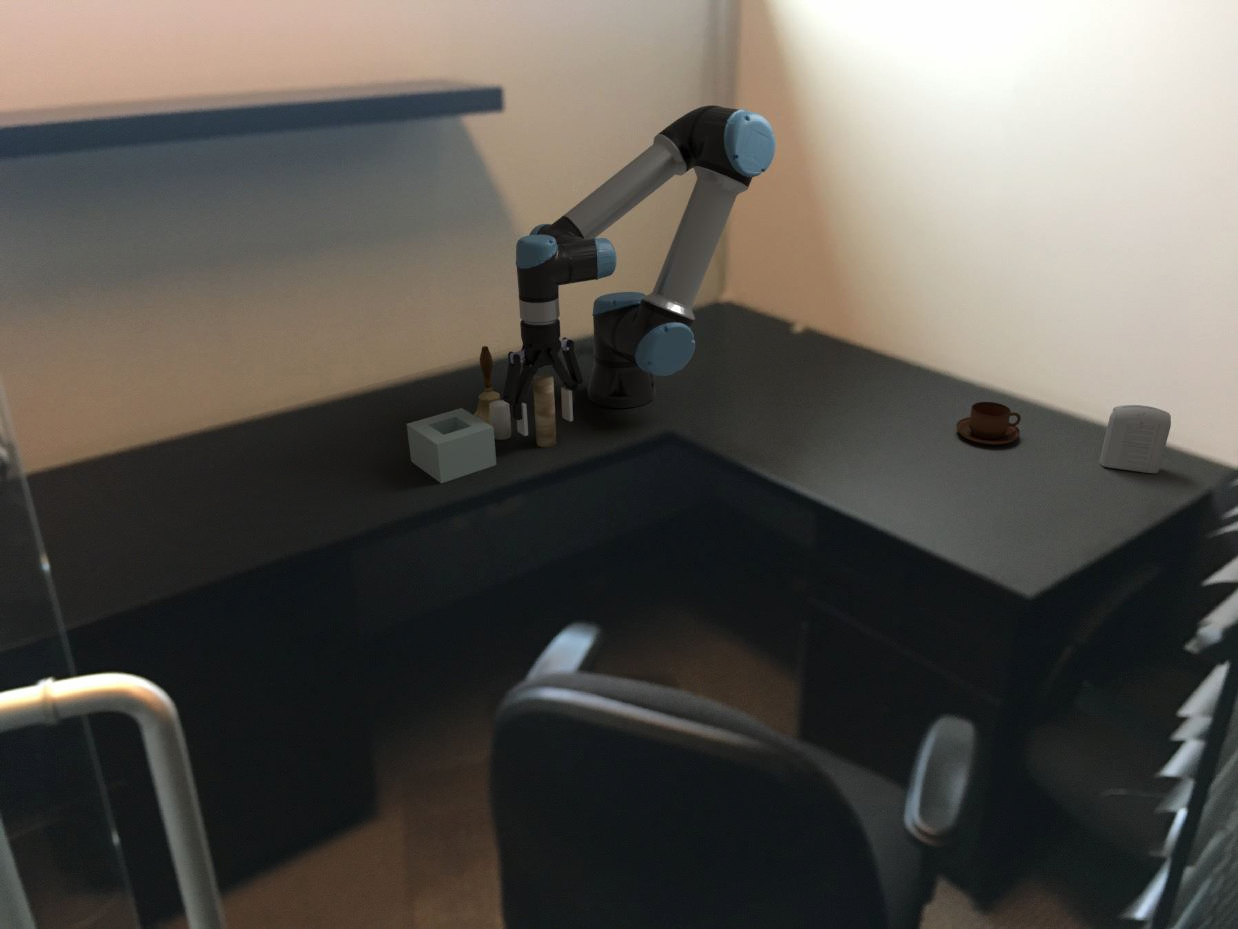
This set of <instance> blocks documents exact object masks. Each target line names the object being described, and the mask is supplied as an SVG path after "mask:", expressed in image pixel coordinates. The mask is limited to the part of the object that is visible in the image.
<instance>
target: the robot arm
mask: <svg viewBox="0 0 1238 929" xmlns="http://www.w3.org/2000/svg"><path fill="white" fill-rule="evenodd" d="M652 143H653V144H652V145H650V146H649V147H648V148H647V149H645V150H644V151H643V152H641V154H639V155H638V156H637V157H635V158H633V160H631V161H630V162H628V164H626V165H625V166H624V167H622V168H621V169H620V170H619V171H617V172H616V173H614V175H612V176H611V177H610V178H608V180H606V181H605V182H603V183H602V184H601V185H600V186H599V187H597V188H596V189H595V190H594V191H593V192H591V193H590V194H588V195H587V196H586V197H585V198H584V199H582V200H580V201H579V202H578V203H577V204H576V205H574V207H572V208H570V209H569V210H568V211H567V212H566V213H564V214H563V215H562V216H561V217H560V218H558V219H557V220H556V221H554V222H553V223H542V224H538V225H535V227H534V228H532V229H531V231H530V232H529V235H525V236H523V237H520V238H519V239H518V241H517V242H516V247H515V249H516V250H515V266H516V275H517V289H518V302H519V303H518V306H519V318H520V338H521V342H522V346H521V349H520V350H518V351H515V352H514V351H509V352H508V354H507V356H508V357H507V358H508V367H507V372H506V378H505V383H504V389H503V394H502V400H503V401H505V402H507V403H508V404H509V406H510V405H511V406H512V407H511V408H512V417H513V419H515V420H516V428H517V429H516V430H517V431H516V432H517V433H520V435H522V436H524V437H527V436H529V425H528V410H527V403H525V402H524V401H525V398H526V396H527V393H528V390H529V388H530V385H531V383H532V382H533V377H535V374H537V372H538V370H539V369H540V368H543V367H546V366H549V367H550V366H551V367H552V368H553V370H554V372H555V373H556V375H557V376H558V378H559V379H560V381H561V382H562V384H563V385H564V386H563V387H562V386H561V387H560V394H561V395H560V396H561V416H562V418H563V419H564V420H566V421H568V422H573V421H574V413H573V404H575V403H576V391H578V389H579V385H582V384H583V383H584V379H583V376H582V372H581V369H580V367H579V363H578V360H577V356H576V354H575V341H574V340H573V339H570V338H568V337H566V336H565V337H564V336H563V337H562V339H560V338H561V321H560V319H559V318H560V315H561V313H560V312H561V311H560V297H559V296H560V293H559V292H560V291H559V288H560V286H564V285H565V286H566V285H571V284H577V283H582V282H588V281H597V280H599V279H604V278H607V277H611V276H612V275H613V274H614V273H615V271H616V268H617V251H616V249H615V247H614V245H613V243H612V242H611V240H610V239H608V238H606V237H599V236H601V234H602V233H603V232H605V231H606V230H608V229H609V228H610V227H612V225H614V224H615V223H616V222H617V221H619V220H620V219H621V218H623V217H624V216H625V215H627V214H628V213H629V212H630V211H631V210H633V209H635V207H637V206H638V205H639V204H640V203H641V202H643V201H644V200H646V198H648V197H649V196H650V195H651V194H653V193H654V192H656V191H657V190H658V189H659V188H661V187H662V186H663V185H664V184H666V183H667V182H668V181H669V180H670V179H672V178H673V177H674V176H675V175H676V176H684V175H685V174H687V172H689V171H690V170H691V169H693V170H694V174H696V182H695V184H694V186H693V189H692V192H691V193H690V196H689V199H688V201H687V204H686V206H685V209H684V212H683V214H682V216H681V219H680V222H679V224H678V227H677V228H676V232H675V234H674V237H673V240H672V242H671V244H670V246H669V249H668V252H667V255H666V257H665V260H664V261H663V262H664V263H663V265H662V267H661V270H660V272H659V274H658V277H657V280H656V282H655V285H654V287H653V289H652V291H651V293H649V294H645V293H643V292H640V291H621V292H620V291H619V292H618V291H617V292H612V293H607V294H603V295H599V296H598V297H597V298H595V300H594V302H593V307H592V314H591V315H592V322H593V347H594V348H593V350H594V352H593V354H594V363H593V368H592V371H591V375H590V379H589V382H588V385H587V398H588V399H589V401H590V402H592V403H593V404H595V405H598V406H601V407H606V408H611V409H612V408H613V409H627V408H629V409H630V408H637V407H640V406H644V405H646V404H649V403H651V402H652V401H653V400H654V399H656V398H655V397H656V393H657V391H656V390H657V388H656V383H655V380H654V377H653V375H654V376H658V377H667V376H668V377H669V376H670V375H671V376H672V375H674V374H675V373H677V372H679V371H681V370H682V369H684V367H686V365H687V364H688V363H689V362H690V361H691V359H692V357H693V355H694V352H695V349H696V341H695V339H694V338H695V335H694V333H693V331H692V328H693V325H694V322H695V320H696V317H695V315H694V312H693V309H692V308H693V306H694V303H695V300H696V298H697V296H698V293H699V290H700V288H701V285H702V283H703V281H704V278H705V276H706V273H707V270H708V268H709V266H710V263H711V261H712V258H713V256H714V254H715V252H716V250H717V249H716V248H717V246H718V243H719V240H720V239H721V237H722V233H723V231H724V228H725V226H726V223H727V221H728V218H729V216H730V214H731V211H732V209H733V206H734V204H735V201H736V199H737V196H738V195H739V194H742V193H744V192H746V191H748V189H749V187H750V184H751V183H752V181H753V178H755V177H758V176H760V175H762V173H765V172H766V171H767V170H768V168H769V167H770V165H771V164H772V162H773V160H774V157H775V154H776V153H775V152H776V136H775V135H774V132H773V127H772V125H771V123H769V121H768V120H767V119H766V118H765V117H764V116H763V115H761V114H759V113H756V112H753V111H750V110H747V109H737V108H729V107H725V106H724V107H723V106H719V105H713V104H712V105H705V106H700V107H698V108H695V109H692V110H691V111H689V112H687V113H685V114H683V115H682V116H681V117H679V118H677V119H676V120H674V121H673V122H671V123H670V124H669V125H667V126H666V127H665V128H664V129H663V130H661V131H660V132H659V133H657V134H656V135H655V136H654V137H653V142H652ZM597 237H599V238H597ZM560 350H561V352H562V355H563V358H564V361H565V364H566V367H567V369H566V368H565V366H564V364H563V361H562V360H561V358H560V357H559V356H558V355H559V352H560ZM523 358H524V361H523ZM521 369H522V370H521Z"/></svg>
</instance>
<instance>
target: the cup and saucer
mask: <svg viewBox="0 0 1238 929" xmlns="http://www.w3.org/2000/svg"><path fill="white" fill-rule="evenodd" d="M1011 416H1015V417H1016V419H1017V420H1016V421H1015V422H1013V423H1012V422H1010V417H1011ZM1021 418H1022V417H1021V415H1020V414H1019V413H1018V412H1017V411H1016V412H1013V411H1012V412H1011V409H1010V408H1009V407H1008V406H1007V405H1004V404H1002V403H999V402H992V401H979V402H975V403H974V404H972V405H971V409H970V416H969V417H964V418H962V419H960V420H958V422H956V425H955V426H956V430H957V432H958V433H959V434H960V435H961V436H962V437H964V438H965V439H967V440H969V441H972V442H974V443H978V444H983V445H984V444H985V445H992V446H997V445H1005V444H1009V443H1012V442H1013V441H1015V440H1017V439H1018V438H1019V437H1020V434H1021V432H1020V431H1021V430H1020V429H1019V428H1018V425H1019V424H1020V422H1021V420H1022V419H1021Z"/></svg>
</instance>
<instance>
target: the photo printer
mask: <svg viewBox="0 0 1238 929" xmlns="http://www.w3.org/2000/svg"><path fill="white" fill-rule="evenodd" d="M1170 413H1171V412H1167V410H1163V409H1161V408H1157V407H1154V406H1149V405H1143V404H1142V405H1141V404H1126V405H1119V406H1114V407H1113V409H1112V412H1111V413H1110V415H1109V418H1108V421H1107V422H1108V423H1107V427H1106V431H1105V436H1104V440H1103V444H1102V449H1101V453H1100V457H1099V460H1098V461H1099V464H1100V466H1102V467H1105V468H1110V469H1117V470H1125V471H1131V472H1139V473H1147V474H1148V473H1149V474H1157V473H1159V471H1160V469H1161V465H1162V464H1161V463H1162V461H1163V457H1164V453H1165V449H1166V445H1167V441H1168V438H1169V434H1170V429H1171V427H1172V420H1171V419H1172V418H1171V414H1170Z"/></svg>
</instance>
